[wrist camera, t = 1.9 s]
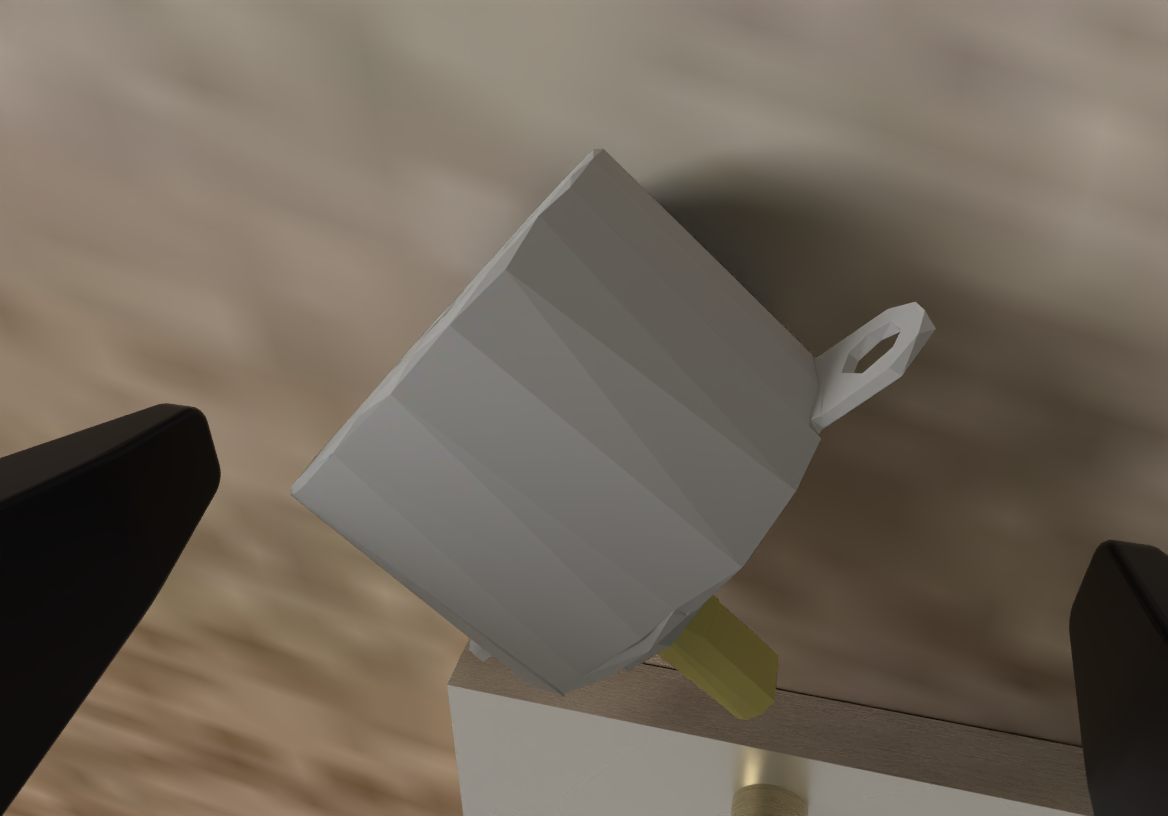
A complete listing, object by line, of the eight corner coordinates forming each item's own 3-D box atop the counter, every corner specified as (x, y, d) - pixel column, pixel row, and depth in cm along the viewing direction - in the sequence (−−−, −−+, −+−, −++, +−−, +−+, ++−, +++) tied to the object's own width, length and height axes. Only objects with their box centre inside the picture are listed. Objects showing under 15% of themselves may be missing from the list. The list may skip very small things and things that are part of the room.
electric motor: (614, 577, 14) (521, 880, 10) (381, 379, 13) (168, 621, 9) (1004, 313, 10) (1118, 623, 6) (718, 7, 9) (621, 127, 5)
